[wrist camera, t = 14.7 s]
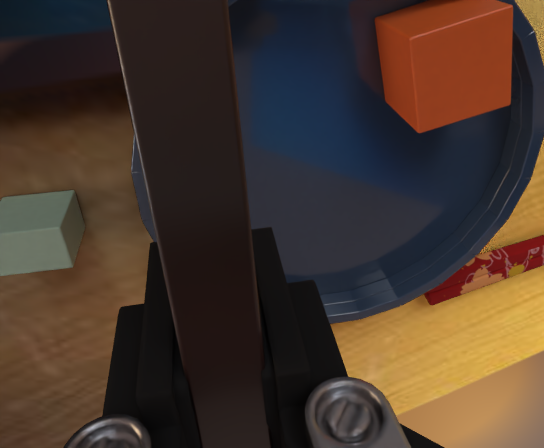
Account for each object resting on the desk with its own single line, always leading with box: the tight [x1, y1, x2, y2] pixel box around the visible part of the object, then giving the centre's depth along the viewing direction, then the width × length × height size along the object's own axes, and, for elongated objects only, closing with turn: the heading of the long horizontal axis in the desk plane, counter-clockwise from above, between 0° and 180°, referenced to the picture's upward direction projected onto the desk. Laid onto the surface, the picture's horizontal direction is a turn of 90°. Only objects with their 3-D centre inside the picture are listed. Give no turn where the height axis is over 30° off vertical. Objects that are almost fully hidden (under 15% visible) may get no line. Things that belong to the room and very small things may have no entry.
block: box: [375, 0, 513, 133], centre depth 18 cm, size 4×4×4 cm
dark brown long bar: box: [106, 0, 274, 448], centre depth 8 cm, size 20×1×1 cm, turn 4°
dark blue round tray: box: [131, 0, 544, 324], centre depth 21 cm, size 17×17×2 cm
